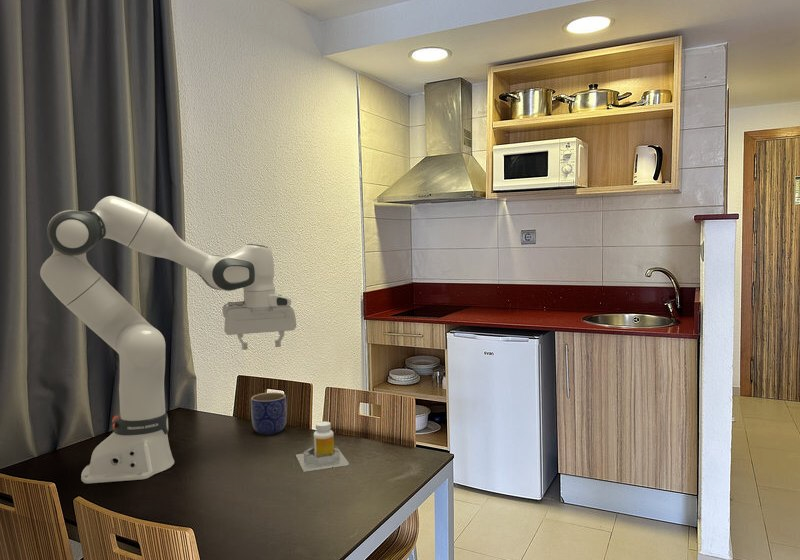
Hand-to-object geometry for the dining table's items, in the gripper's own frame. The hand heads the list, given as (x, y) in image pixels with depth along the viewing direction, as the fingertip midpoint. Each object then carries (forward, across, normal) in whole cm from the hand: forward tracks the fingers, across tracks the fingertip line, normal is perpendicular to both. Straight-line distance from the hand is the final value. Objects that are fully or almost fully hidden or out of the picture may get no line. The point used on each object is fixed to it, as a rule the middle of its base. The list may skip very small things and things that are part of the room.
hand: (261, 347), depth 174 cm
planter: (+29, +3, +14) cm, 33 cm away
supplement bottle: (+29, +14, -18) cm, 37 cm away
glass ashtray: (+29, +13, -18) cm, 37 cm away
